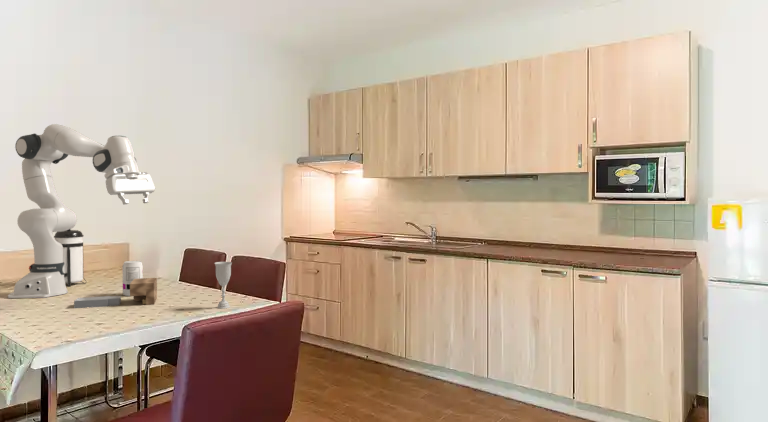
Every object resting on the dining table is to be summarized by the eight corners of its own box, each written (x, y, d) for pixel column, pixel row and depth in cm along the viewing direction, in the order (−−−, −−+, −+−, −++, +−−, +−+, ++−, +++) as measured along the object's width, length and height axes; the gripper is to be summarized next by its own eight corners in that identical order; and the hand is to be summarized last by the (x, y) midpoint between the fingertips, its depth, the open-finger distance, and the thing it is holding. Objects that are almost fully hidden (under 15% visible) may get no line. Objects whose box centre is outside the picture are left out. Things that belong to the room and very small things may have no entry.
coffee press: (51, 283, 268) (51, 224, 267) (87, 281, 275) (87, 223, 274) (46, 288, 253) (45, 226, 252) (84, 286, 259) (83, 225, 258)
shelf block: (130, 305, 215) (129, 283, 215) (134, 299, 228) (134, 278, 228) (154, 304, 218) (153, 282, 217) (157, 298, 231) (156, 277, 231)
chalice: (211, 306, 214) (211, 262, 213) (227, 304, 218) (227, 261, 218) (219, 309, 208) (218, 264, 208) (235, 307, 213) (235, 263, 212)
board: (74, 308, 210) (74, 301, 210) (78, 305, 217) (78, 297, 217) (118, 305, 215) (118, 298, 215) (121, 302, 222) (121, 295, 222)
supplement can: (118, 295, 236) (118, 262, 236) (132, 292, 244) (132, 260, 243) (133, 297, 234) (133, 263, 233) (146, 293, 242) (146, 261, 241)
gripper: (144, 174, 230) (153, 204, 229) (100, 174, 212) (109, 207, 211) (153, 169, 227) (162, 199, 226) (109, 169, 210) (118, 202, 208)
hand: (136, 203), depth 218 cm, fingers open, 8 cm apart
